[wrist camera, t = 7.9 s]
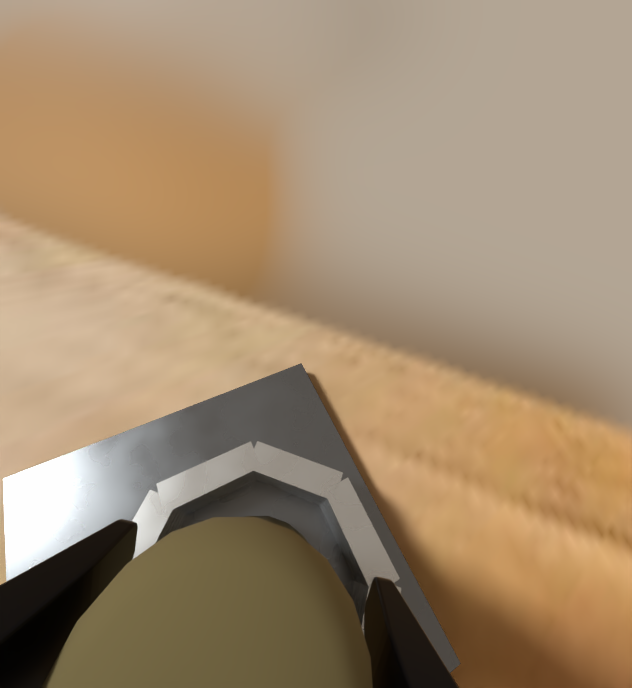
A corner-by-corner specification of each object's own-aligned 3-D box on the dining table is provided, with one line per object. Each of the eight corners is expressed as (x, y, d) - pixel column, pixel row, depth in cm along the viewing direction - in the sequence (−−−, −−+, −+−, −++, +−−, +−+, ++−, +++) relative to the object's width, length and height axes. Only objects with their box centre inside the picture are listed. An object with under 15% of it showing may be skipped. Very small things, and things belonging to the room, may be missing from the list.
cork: (241, 753, 11) (54, 1965, 2) (143, 601, 13) (-215, 785, 3) (353, 594, 14) (526, 727, 4) (260, 485, 15) (237, 410, 6)
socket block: (449, 656, 14) (496, 686, 11) (44, 1003, 9) (-68, 1227, 6) (300, 370, 20) (304, 341, 17) (17, 482, 15) (-43, 467, 12)
